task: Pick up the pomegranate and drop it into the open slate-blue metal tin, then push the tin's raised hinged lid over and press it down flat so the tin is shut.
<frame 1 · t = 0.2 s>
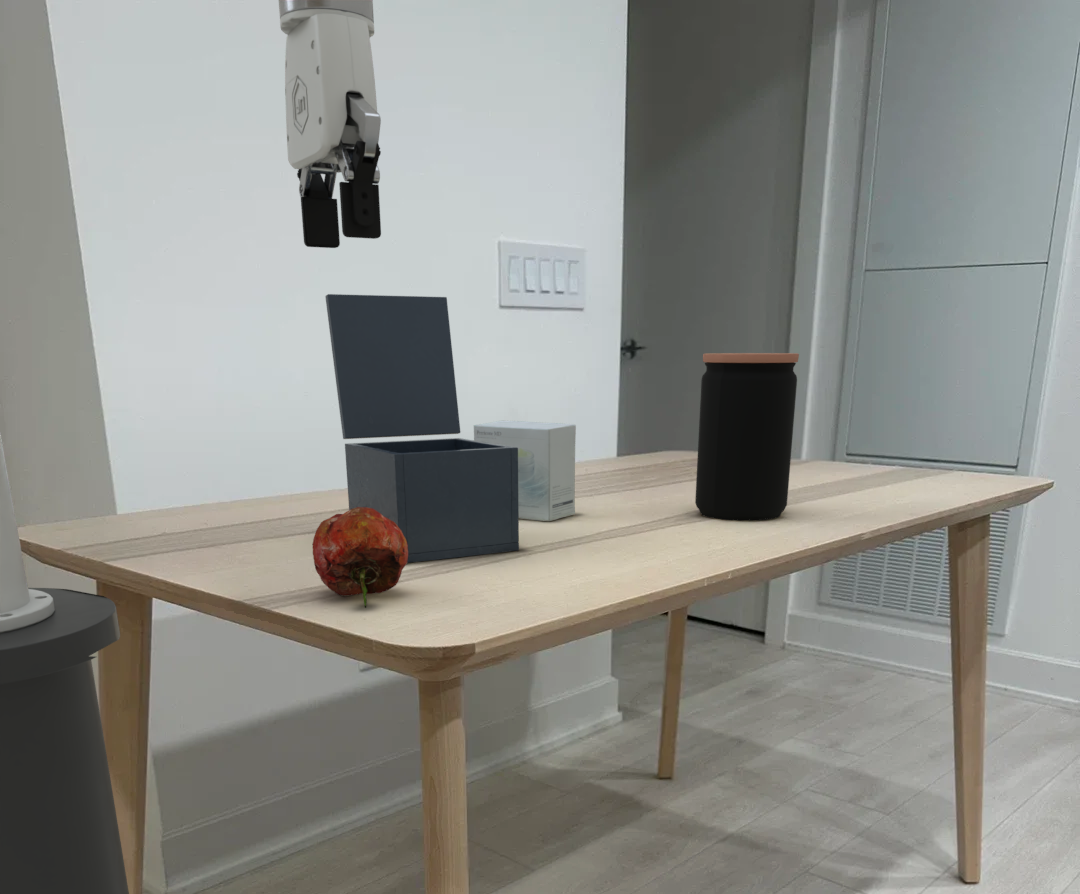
hand: (341, 242, 88), 27 cm above the table, tool pointing down, fingers open, 9 cm apart
pomegranate: (363, 599, 81), on the table
tin lid: (395, 367, 101), point 17 cm above the table, hinge at 100.0°
cosmetics box: (525, 516, 120), on the table
coffee jar: (739, 516, 120), on the table
tea tin: (433, 546, 101), on the table
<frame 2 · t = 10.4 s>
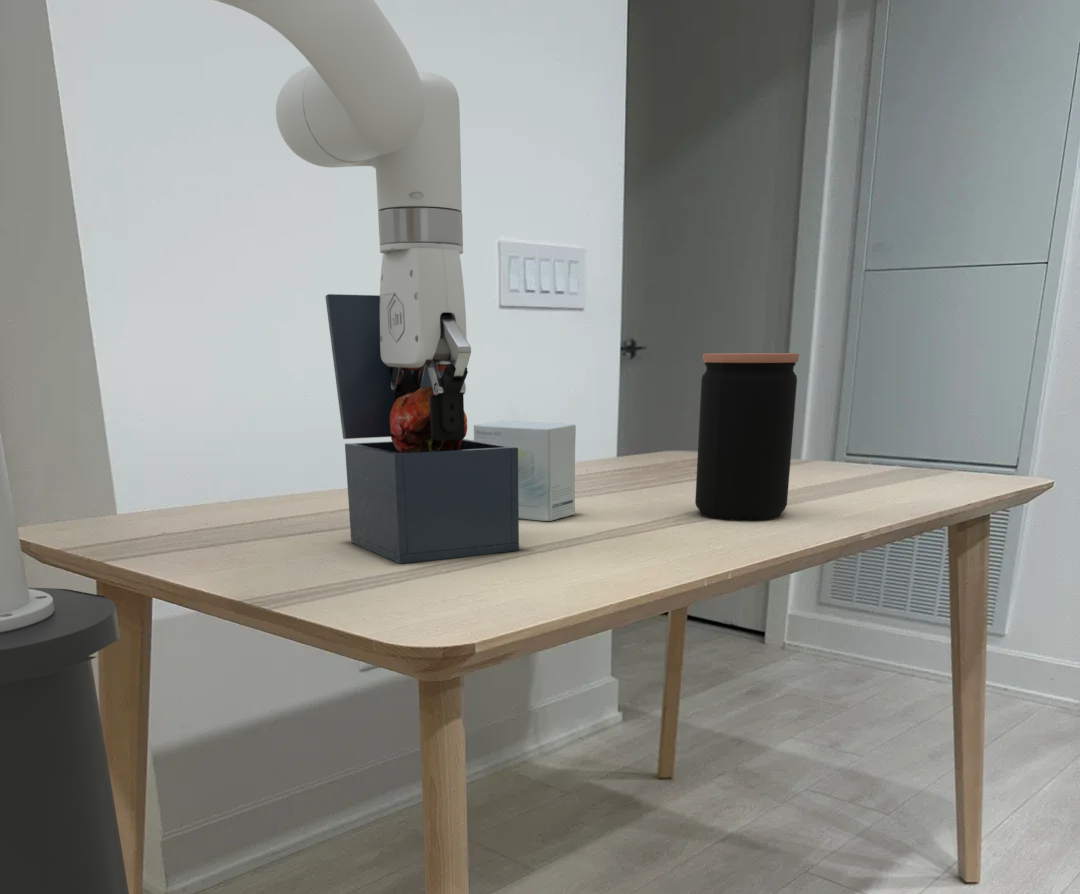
hand: (428, 435, 98), 11 cm above the table, tool pointing down, fingers closed on pomegranate, 7 cm apart
pomegranate: (429, 465, 98), point 8 cm above the table, touching gripper
tin lid: (395, 367, 101), point 17 cm above the table, hinge at 100.0°, touching gripper
everything else where it was.
when the fingers open (10 cm above the table, at t = 26.0 s): pomegranate drops 6 cm, resting on tea tin.
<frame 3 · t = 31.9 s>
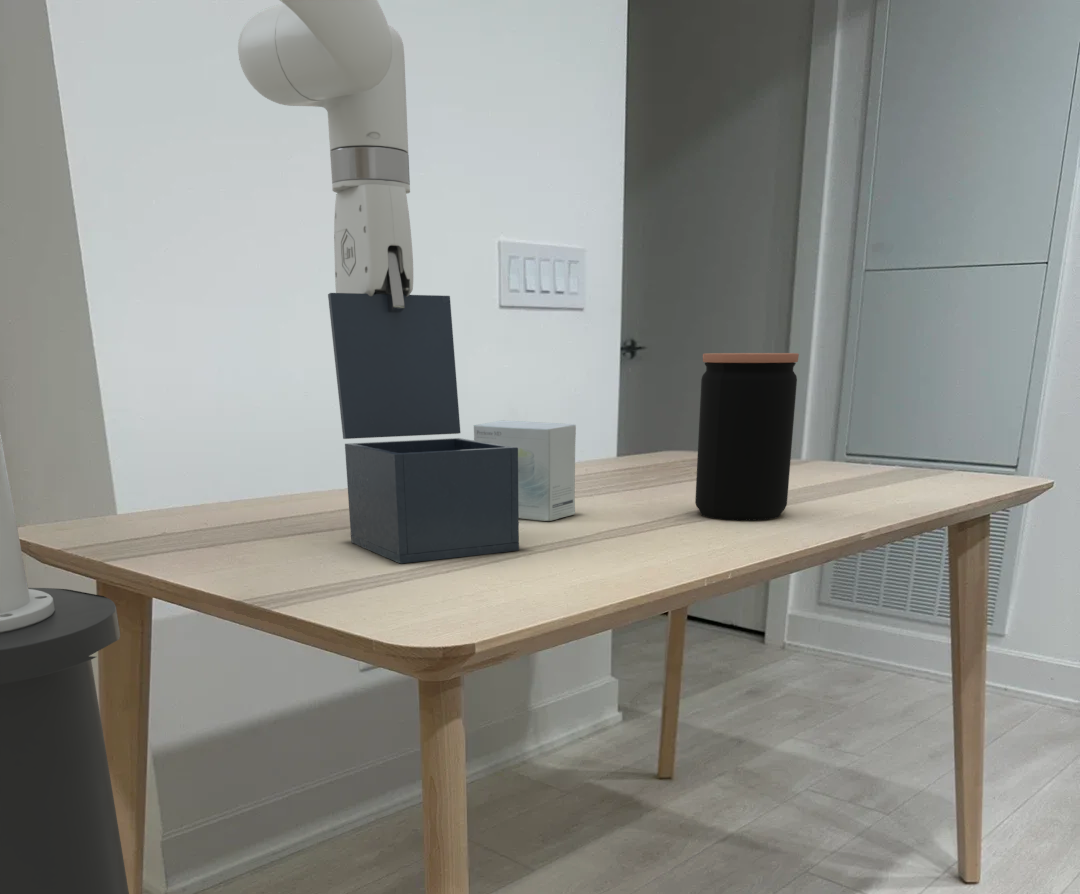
hand: (381, 373, 105), 16 cm above the table, tool pointing down, fingers closed
pomegranate: (425, 543, 100), point 1 cm above the table, touching tea tin
tin lid: (397, 366, 101), point 17 cm above the table, hinge at 96.7°, touching gripper
everything else where it was.
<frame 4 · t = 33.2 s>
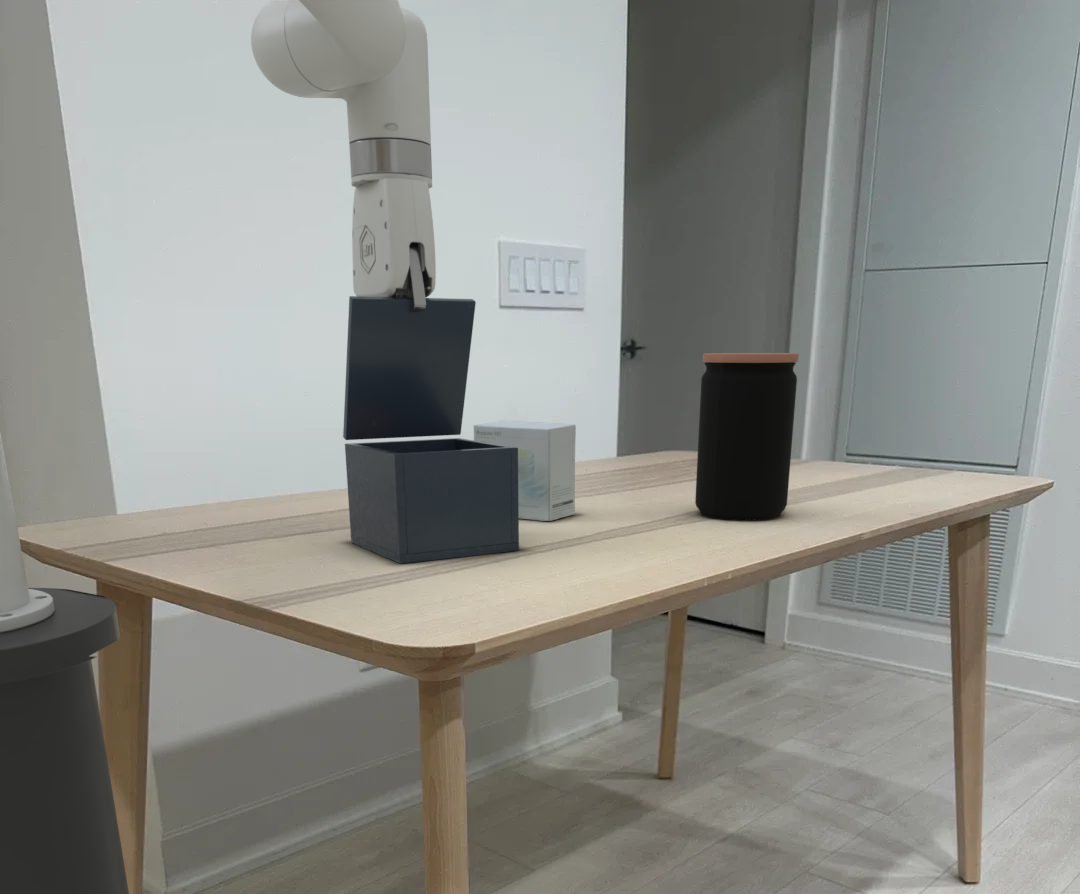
hand: (400, 376, 101), 16 cm above the table, tool pointing down, fingers closed
tin lid: (408, 370, 99), point 17 cm above the table, hinge at 72.0°
everything else where it was.
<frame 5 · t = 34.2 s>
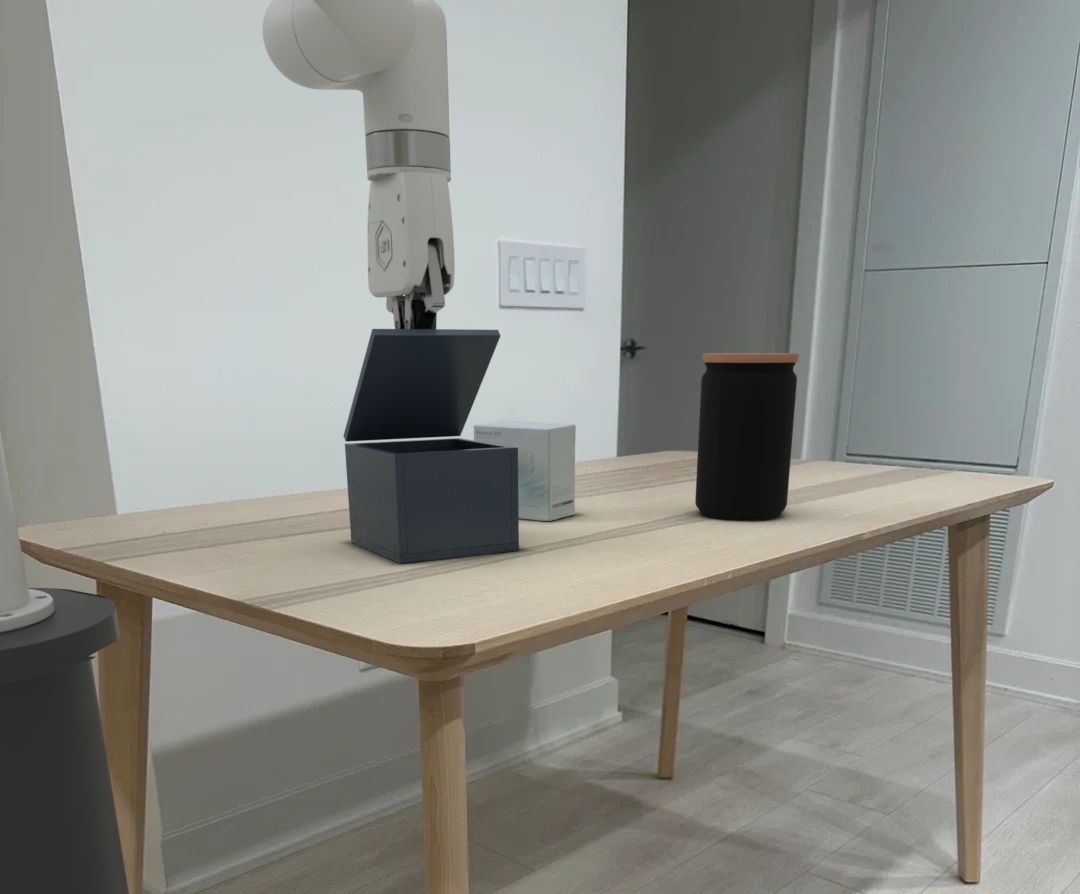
hand: (417, 376, 97), 16 cm above the table, tool pointing down, fingers closed
tin lid: (420, 386, 97), point 15 cm above the table, hinge at 46.7°
everything else where it was.
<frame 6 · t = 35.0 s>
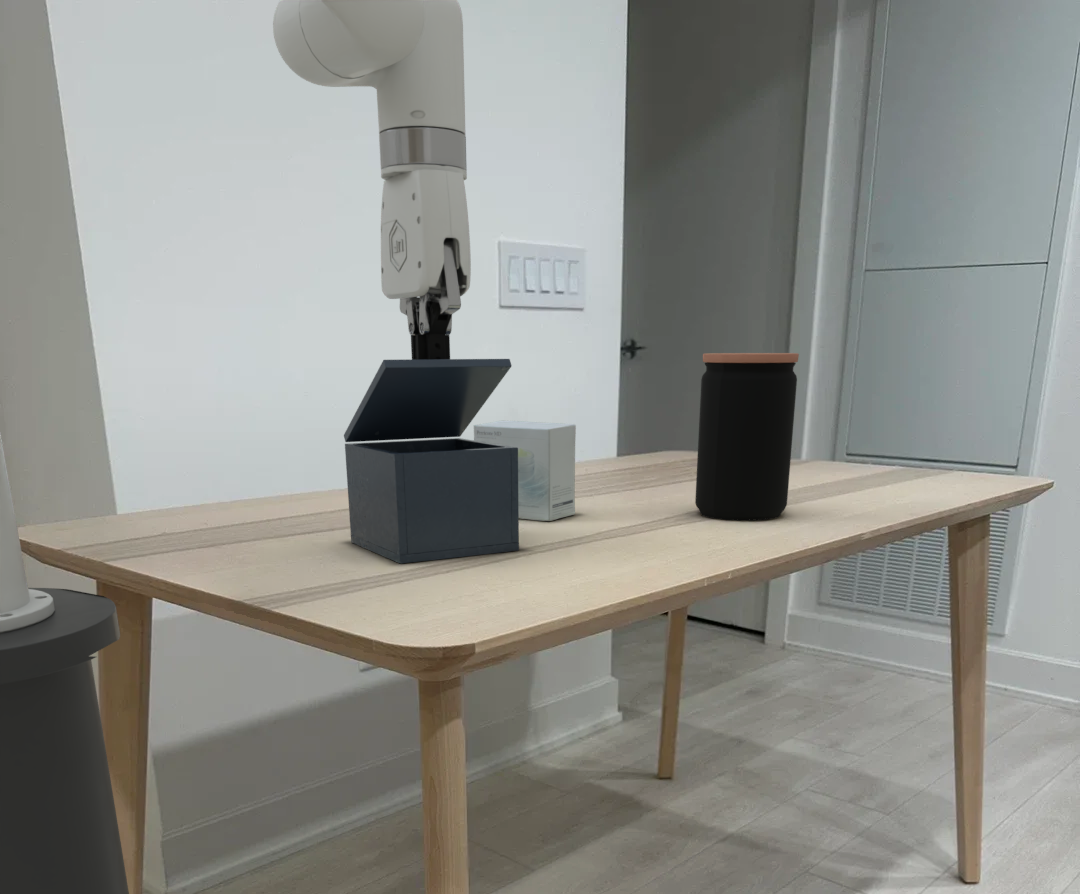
hand: (431, 380, 95), 16 cm above the table, tool pointing down, fingers closed
tin lid: (425, 401, 97), point 14 cm above the table, hinge at 32.1°, touching gripper
everything else where it was.
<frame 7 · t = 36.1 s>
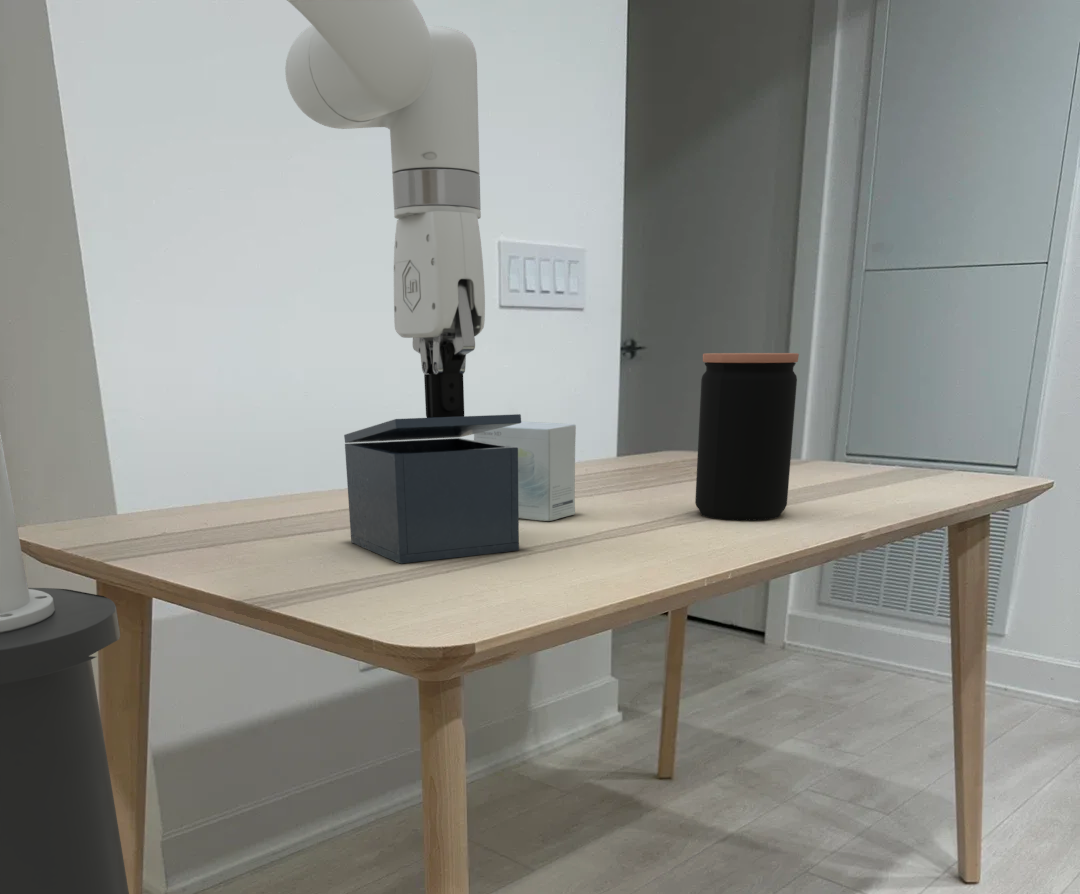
hand: (445, 418, 94), 12 cm above the table, tool pointing down, fingers closed
tin lid: (430, 429, 97), point 11 cm above the table, hinge at 9.4°, touching gripper
everything else where it was.
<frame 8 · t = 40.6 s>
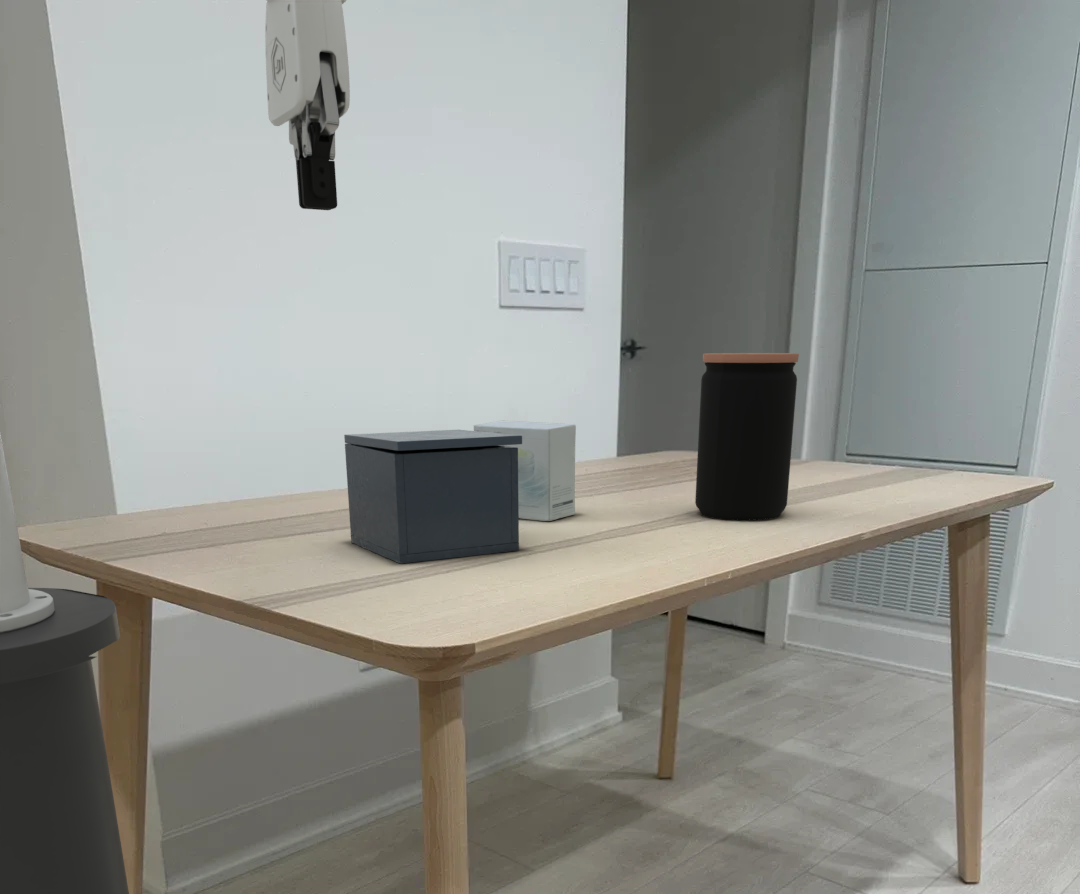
hand: (318, 208, 96), 31 cm above the table, tool pointing down, fingers closed
tin lid: (431, 439, 97), point 10 cm above the table, hinge at 1.3°
everything else where it was.
at the end: pomegranate inside the target area in the tea tin (1.7 cm from its centre), point 0.6 cm above the tea tin's base; tin lid at +1° (first picture: +100°) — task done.
